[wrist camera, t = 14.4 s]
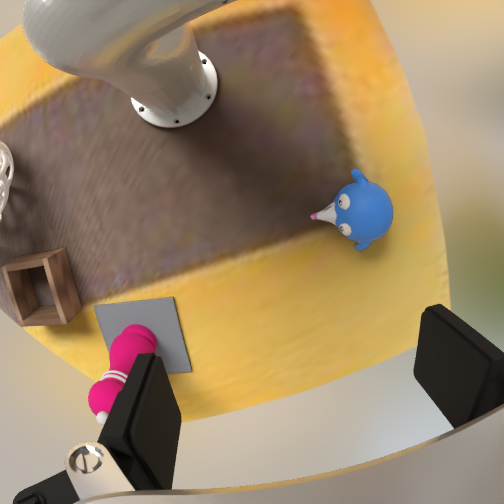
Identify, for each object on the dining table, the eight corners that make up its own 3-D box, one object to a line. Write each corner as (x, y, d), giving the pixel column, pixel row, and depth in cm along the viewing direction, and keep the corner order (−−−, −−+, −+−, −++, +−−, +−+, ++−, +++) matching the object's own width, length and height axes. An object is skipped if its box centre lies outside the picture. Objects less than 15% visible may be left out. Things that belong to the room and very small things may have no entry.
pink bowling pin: (142, 364, 50) (110, 449, 31) (111, 337, 48) (64, 415, 29) (168, 342, 49) (142, 430, 30) (136, 312, 47) (91, 391, 28)
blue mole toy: (299, 171, 44) (314, 172, 36) (374, 167, 44) (401, 168, 36) (305, 252, 47) (321, 269, 39) (377, 243, 48) (402, 257, 39)
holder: (20, 256, 44) (1, 266, 38) (65, 247, 44) (47, 258, 39) (37, 311, 47) (21, 326, 41) (82, 308, 47) (67, 324, 41)
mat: (94, 305, 47) (93, 306, 47) (173, 296, 48) (172, 298, 47) (119, 373, 51) (118, 375, 50) (191, 369, 51) (191, 371, 51)
